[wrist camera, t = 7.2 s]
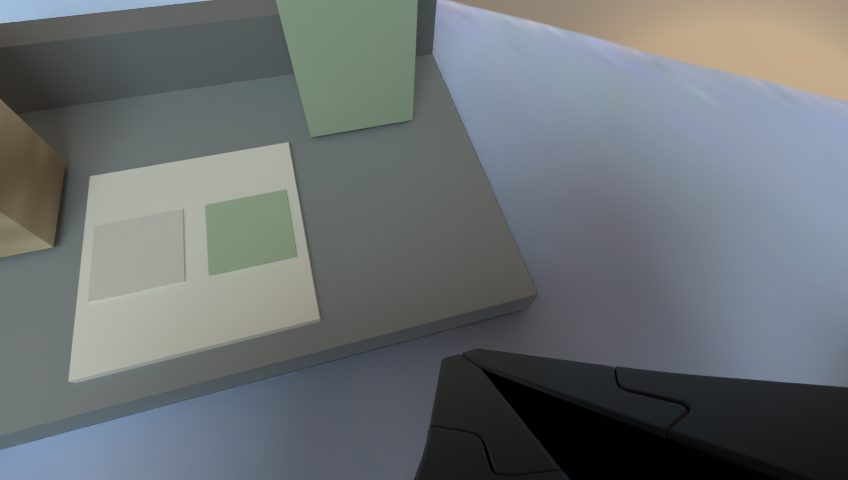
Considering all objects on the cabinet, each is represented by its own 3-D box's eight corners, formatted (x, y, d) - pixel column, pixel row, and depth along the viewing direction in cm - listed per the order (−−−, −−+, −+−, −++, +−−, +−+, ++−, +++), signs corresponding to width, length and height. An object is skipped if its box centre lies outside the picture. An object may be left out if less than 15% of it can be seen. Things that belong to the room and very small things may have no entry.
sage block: (415, 121, 19) (427, -124, 11) (308, 139, 18) (242, -112, 10) (392, 59, 21) (389, -186, 13) (295, 73, 20) (230, -180, 12)
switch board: (526, 308, 17) (566, 256, 13) (-182, 498, 13) (-444, 508, 9) (422, 59, 24) (427, -24, 20) (-60, 130, 19) (-176, 43, 16)
